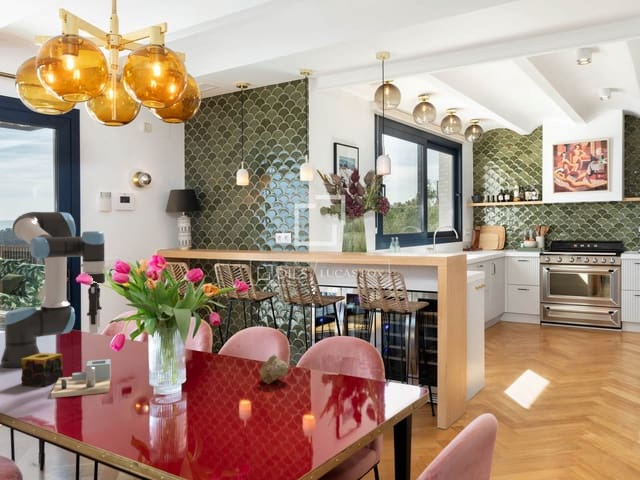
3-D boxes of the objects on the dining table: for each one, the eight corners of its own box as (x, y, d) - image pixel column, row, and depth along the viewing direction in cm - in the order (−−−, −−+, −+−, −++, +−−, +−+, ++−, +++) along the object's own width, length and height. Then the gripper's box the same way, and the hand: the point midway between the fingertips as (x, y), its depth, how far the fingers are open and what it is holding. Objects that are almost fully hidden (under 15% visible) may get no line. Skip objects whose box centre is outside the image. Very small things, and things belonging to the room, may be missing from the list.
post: (86, 385, 189) (86, 367, 189) (95, 384, 190) (95, 366, 190) (85, 387, 186) (85, 369, 186) (95, 387, 187) (94, 368, 187)
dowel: (61, 388, 186) (61, 379, 186) (66, 387, 186) (66, 379, 186) (61, 389, 184) (61, 380, 184) (66, 388, 185) (66, 380, 185)
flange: (110, 373, 205) (110, 359, 205) (110, 378, 197) (109, 363, 197) (73, 376, 201) (73, 362, 201) (71, 382, 193) (71, 367, 193)
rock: (293, 382, 197) (292, 354, 196) (272, 388, 189) (271, 360, 189) (271, 376, 205) (270, 350, 205) (250, 382, 197) (249, 355, 197)
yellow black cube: (44, 387, 193) (44, 359, 193) (20, 386, 195) (19, 358, 195) (63, 379, 203) (63, 353, 203) (40, 378, 205) (39, 352, 205)
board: (58, 382, 199) (58, 378, 199) (110, 377, 205) (110, 373, 205) (51, 397, 180) (51, 393, 180) (108, 392, 186) (108, 387, 186)
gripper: (85, 271, 209) (86, 325, 209) (79, 275, 185) (80, 336, 186) (106, 270, 211) (107, 324, 212) (102, 274, 188) (104, 335, 188)
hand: (94, 330), depth 199 cm, fingers open, 13 cm apart
